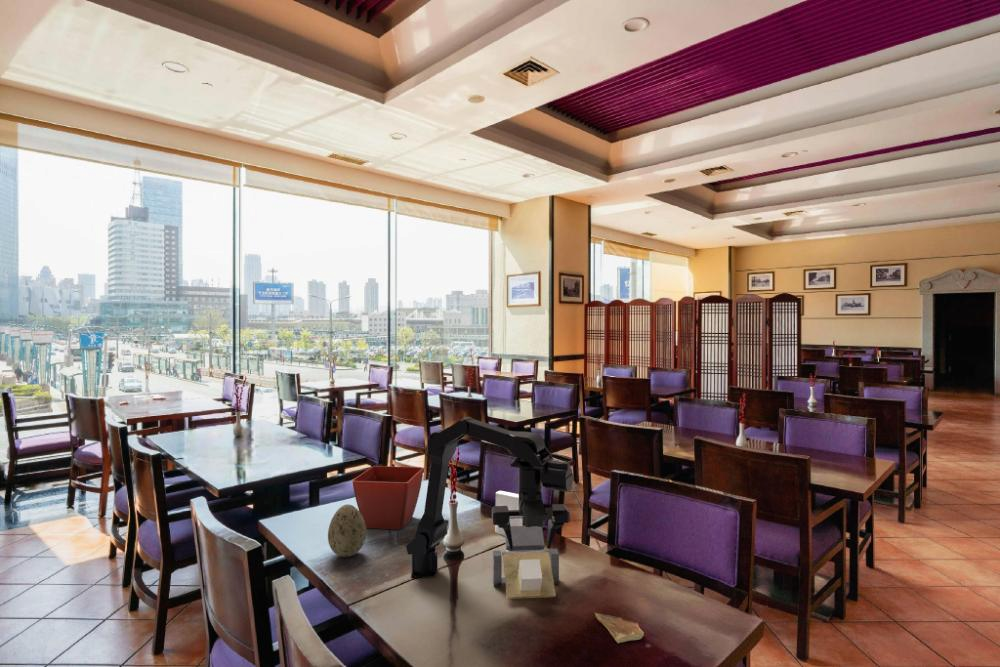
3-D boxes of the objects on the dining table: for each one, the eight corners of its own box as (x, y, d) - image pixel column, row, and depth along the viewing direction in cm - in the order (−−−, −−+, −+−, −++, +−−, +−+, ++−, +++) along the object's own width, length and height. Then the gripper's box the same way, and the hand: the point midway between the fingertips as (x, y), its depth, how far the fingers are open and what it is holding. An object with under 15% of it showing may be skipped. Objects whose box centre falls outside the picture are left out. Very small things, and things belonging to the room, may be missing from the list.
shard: (594, 617, 121) (594, 610, 121) (624, 613, 123) (624, 605, 123) (615, 645, 110) (615, 637, 110) (648, 640, 112) (648, 632, 112)
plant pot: (373, 511, 188) (373, 464, 188) (424, 513, 186) (424, 466, 185) (351, 531, 169) (350, 480, 169) (407, 535, 167) (407, 483, 166)
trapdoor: (505, 601, 126) (506, 595, 125) (500, 532, 142) (500, 526, 140) (555, 599, 127) (557, 592, 126) (544, 531, 143) (545, 525, 141)
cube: (520, 590, 127) (521, 579, 124) (518, 571, 131) (519, 559, 128) (540, 589, 127) (542, 578, 124) (537, 570, 131) (539, 559, 129)
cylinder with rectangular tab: (527, 528, 172) (527, 492, 172) (513, 537, 165) (513, 500, 164) (504, 523, 177) (504, 488, 177) (489, 531, 170) (489, 495, 169)
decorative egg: (333, 567, 144) (333, 513, 144) (323, 553, 154) (323, 502, 153) (371, 558, 150) (371, 506, 150) (359, 544, 159) (359, 496, 159)
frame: (493, 586, 134) (493, 555, 134) (493, 581, 137) (493, 550, 137) (558, 584, 135) (558, 553, 135) (556, 578, 138) (556, 548, 138)
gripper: (494, 497, 119) (494, 565, 119) (575, 495, 120) (574, 562, 121) (491, 482, 130) (491, 544, 130) (565, 481, 132) (564, 542, 132)
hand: (530, 548), depth 128 cm, fingers open, 9 cm apart
